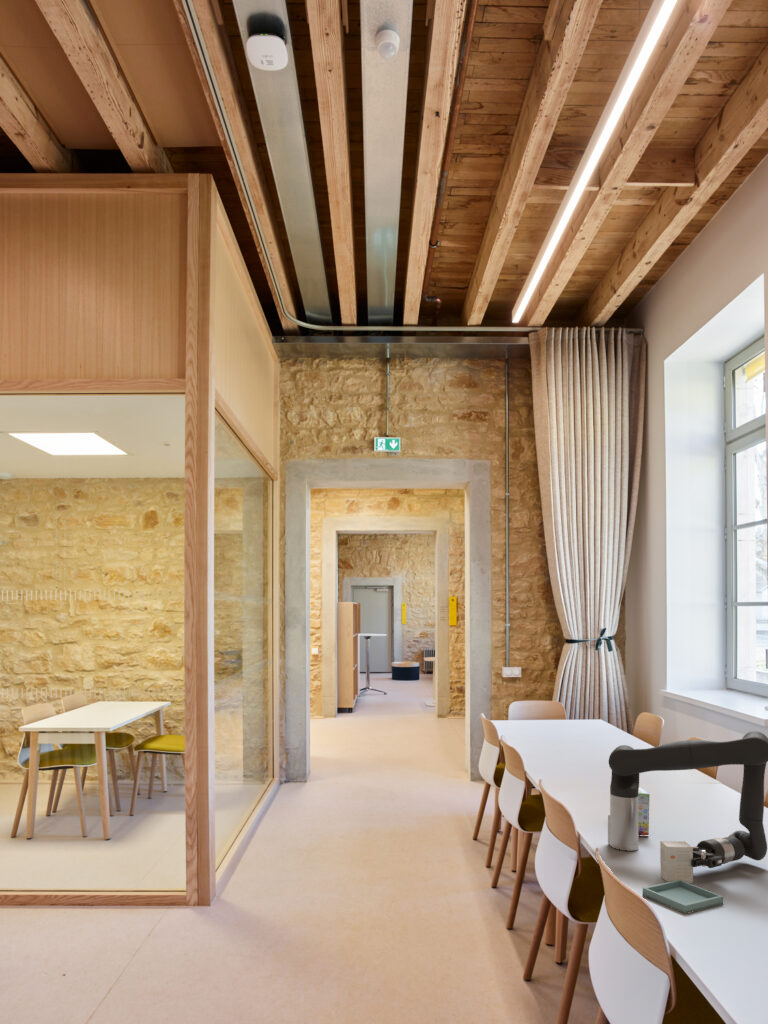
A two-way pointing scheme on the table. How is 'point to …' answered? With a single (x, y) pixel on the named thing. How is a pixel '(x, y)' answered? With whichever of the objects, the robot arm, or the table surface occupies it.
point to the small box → (676, 861)
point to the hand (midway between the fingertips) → (680, 859)
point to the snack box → (643, 812)
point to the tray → (683, 896)
